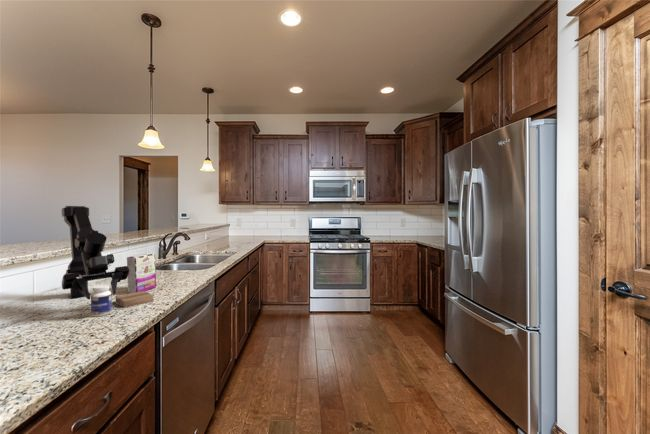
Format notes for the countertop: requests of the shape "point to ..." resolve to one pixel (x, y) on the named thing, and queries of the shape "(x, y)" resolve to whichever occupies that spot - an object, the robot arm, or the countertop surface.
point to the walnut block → (134, 299)
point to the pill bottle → (101, 300)
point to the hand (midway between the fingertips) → (102, 296)
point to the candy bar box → (141, 272)
